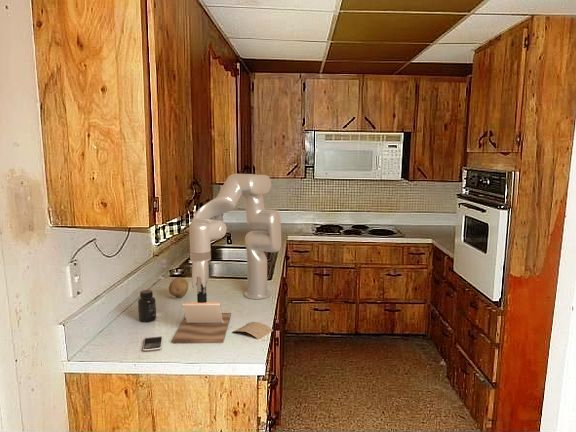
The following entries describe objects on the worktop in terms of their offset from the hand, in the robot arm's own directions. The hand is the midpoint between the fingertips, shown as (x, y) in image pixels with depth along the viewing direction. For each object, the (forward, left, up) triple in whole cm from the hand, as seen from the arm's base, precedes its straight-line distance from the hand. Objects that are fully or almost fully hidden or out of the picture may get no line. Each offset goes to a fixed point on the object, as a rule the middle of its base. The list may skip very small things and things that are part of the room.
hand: (202, 302), depth 163 cm
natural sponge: (-40, -18, -12) cm, 45 cm away
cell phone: (+10, -16, -13) cm, 23 cm away
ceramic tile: (-3, 0, -5) cm, 5 cm away
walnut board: (-4, 0, -12) cm, 12 cm away
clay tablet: (-1, +19, -13) cm, 23 cm away
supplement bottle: (-14, -25, -12) cm, 31 cm away
